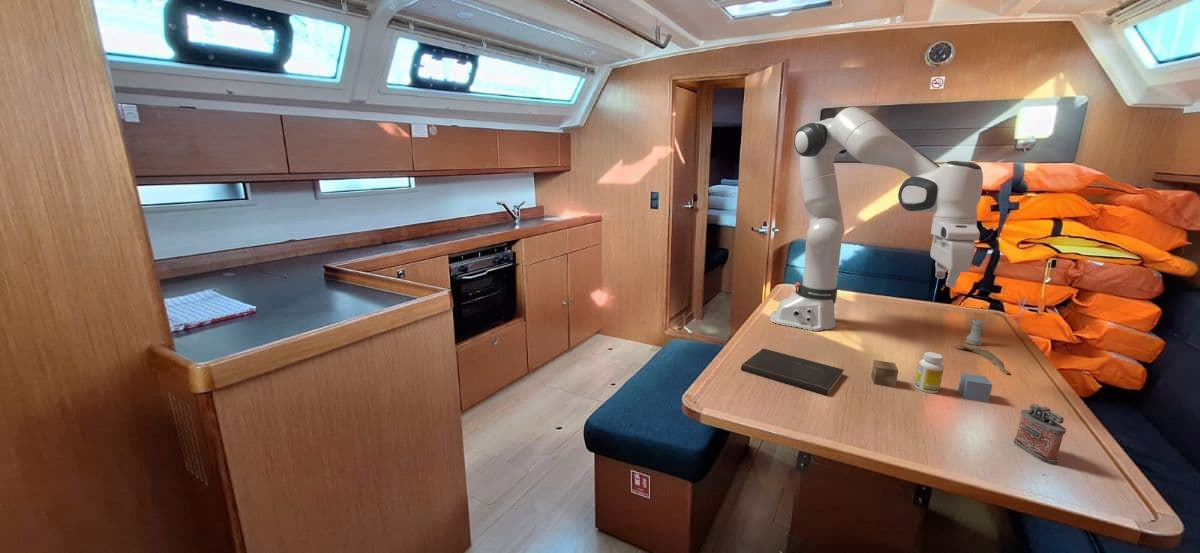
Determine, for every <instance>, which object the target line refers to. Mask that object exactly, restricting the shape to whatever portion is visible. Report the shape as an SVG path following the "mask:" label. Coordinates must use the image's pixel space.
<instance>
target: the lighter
mask: <svg viewBox="0 0 1200 553" xmlns="http://www.w3.org/2000/svg"><path fill="white" fill-rule="evenodd" d="M1064 421H1065V418H1064V417H1063V416H1062V415H1060V414H1058V413H1056V412H1054V411H1051V409H1050V408H1049V407H1048V406H1041V405H1039V404H1037V403H1033V402H1032V403H1031V402H1030V404H1029V409H1021V411H1020V420H1019V424H1018V428H1017V431H1016V432H1017V433H1016V435H1015V437H1014V439H1013V444H1014V445H1016V446H1017V447H1018V448H1019V449H1021V450H1023V451H1024V452H1025V453H1027V454H1029V455H1030V456H1032V457H1034V458H1035V459H1038V460H1039V461H1041V462H1043V463H1045V464H1048V465H1056V464H1058V455H1059V452H1060V448H1061V445H1062V442H1063V437H1064V435H1065V434H1066V432H1067V429H1066V428H1065V427H1064V426H1062V424H1064Z"/></svg>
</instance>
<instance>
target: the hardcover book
mask: <svg viewBox="0 0 1200 553" xmlns="http://www.w3.org/2000/svg"><path fill="white" fill-rule="evenodd" d="M740 371H742V372H744V373H749V374H751V375H754V376H758V377H762V378H765V379H768V380H772V381H774V382H778V383H781V384H784V385H789V386H792V387H795V388H798V389H802V390H804V391H808V392H811V393H815V394H818V395H822V396H825V397H828V395H829V393H830V392H831V390H832V389H833V388H834V387H835V385H836V383H838V381H839V379H840V378H841V377H842V375H843V373H844V371H845V369H843V368H839V367H836V366H831V365H827V364H825V363H820V362H817V361H813V360H809V359H805V358H802V357H797V356H794V355H790V354H786V353H782V352H778V351H775V350H771V349H767V348H761V349H760V350H759V351H758V352H756V353H755V354H753V355H752V356H751V357H749V358H748V359H747V360H746V361H744V362H743V363H742V364H741V367H740Z"/></svg>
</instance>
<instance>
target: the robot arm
mask: <svg viewBox="0 0 1200 553" xmlns="http://www.w3.org/2000/svg"><path fill="white" fill-rule="evenodd" d="M793 138H794V139H793V145H794V149H795V150H796V152H797V154H798V155H799V177H800V185H801V192H802V200H803V205H804V208H805V211H806V215H807V220H808V225H809V227H808V228H807V231H806V237H805V239H806V240H805V250H804V256H805V257H804V267H803V268H804V269H803V276H802V277H803V278H802V283H800V282H796V283H794V287H795V293H793V294H792V295H790V296H788V297H786V298H784V299H782V300H781V301H780V302H779V304H778V305H777V309H776V310H775V311H773V312H771V313H770V316H769V320H770V322H771V323H773V322H774V323H773V324H775V323H776V324H775V325H780V324H781V326H785V325H786V327H791V326H792V327H791V328H796V327H798V328H797V329H801V328H803V329H802V330H807V329H808V331H812V330H814V331H813V332H820V331H824V330H823V329H825V330H830V329H831V330H832V329H835V328H836V327H837V324H836V316H835V315H836V314H835V303H836V302H837V297H838V287H837V283H838V276H839V269H840V258H841V248H842V241H843V236H844V235H845V223H844V218H843V212H842V206H841V202H840V194H839V191H838V188H839V187H838V180H837V174H836V168H835V162H834V161H835V157H836V156H837V154H838V153H839V154H841V155H844V154H845V153H847V152H848V153H849V155H850V156H851V157H853V158H854V159H855V160H858V161H859V162H861V163H863V164H864V165H865V164H866V165H872V166H881V167H886V168H887V167H888V168H892V169H896V170H899V171H901V172H903V173H905V174H906V175H908V176H909V177H908V178H906V179H905V180H904V181H903V182H902V183H901V185H900V187H899V190H898V193H897V194H898V195H897V198H898V202H899V204H900V206H901V207H902V208H903V209H904V210H906V211H908V212H913V213H932V212H933V216H932V223H931V227H930V228H931V229H930V234H931V235H932V236H933V237H932V242H931V247H930V250H929V251H930V258H931V259H933V260H934V261H935V263H934V265H935V278H937V280H939V279H941V280H943V279H945V278H946V269H947V273H948V274H947V278H946V279H945V286H946V287H948V288H956V286H957V281H958V279H959V277H960V275H961V273H967V272H968V271H969V270H970V268H971V266H972V263H973V259H974V254H975V249H976V242H977V241H979V239H980V236H981V232H980V230H979V228H978V216H979V214H978V205H979V204H980V202H981V198H982V191H983V183H984V182H983V181H984V175H983V174H984V173H983V168H982V167H981V166H980V165H978V164H977V163H975V162H971V161H970V162H969V161H961V160H951V161H950V160H949V161H946V162H944V163H943V164H942V165H939V164H937V163H936V162H935V161H934V160H932V159H931V158H929V157H928V156H927V155H925V154H924V153H923V152H921V151H920V150H918V149H916V148H915V147H914V146H912V145H910V144H909V143H907V142H906V141H905V140H903V139H902V138H900V137H899V136H898V135H896V134H895V133H894V132H892V130H890V129H889V128H888V127H886V126H885V125H884V124H883V123H881V122H880V121H879V120H878V119H876V118H875V117H874V116H873V115H872V114H870V113H868V112H866V111H864V110H863V109H861V108H858V107H854V106H851V107H849V106H848V107H846V108H843V109H842V110H841V111H838V113H837V114H836V115H835V116H834V117H830V118H829V117H828V118H826V119H823V120H820V121H819V120H817V121H816V122H815V121H814V122H809V123H806V124H804V125H802V126H800V127H799V128H798V129H797V130H796V131H795V134H794V137H793ZM819 330H820V331H819Z"/></svg>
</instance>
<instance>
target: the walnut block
mask: <svg viewBox="0 0 1200 553" xmlns="http://www.w3.org/2000/svg"><path fill="white" fill-rule="evenodd" d="M898 374H899V368H898V367H897V365H896V363H895V362H890V361H883V360H876V359H873V363H872V371H871V376H870V377H871V380H872V383H873V385H877V386H884V387H889V388H896V386H897V379H898Z"/></svg>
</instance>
